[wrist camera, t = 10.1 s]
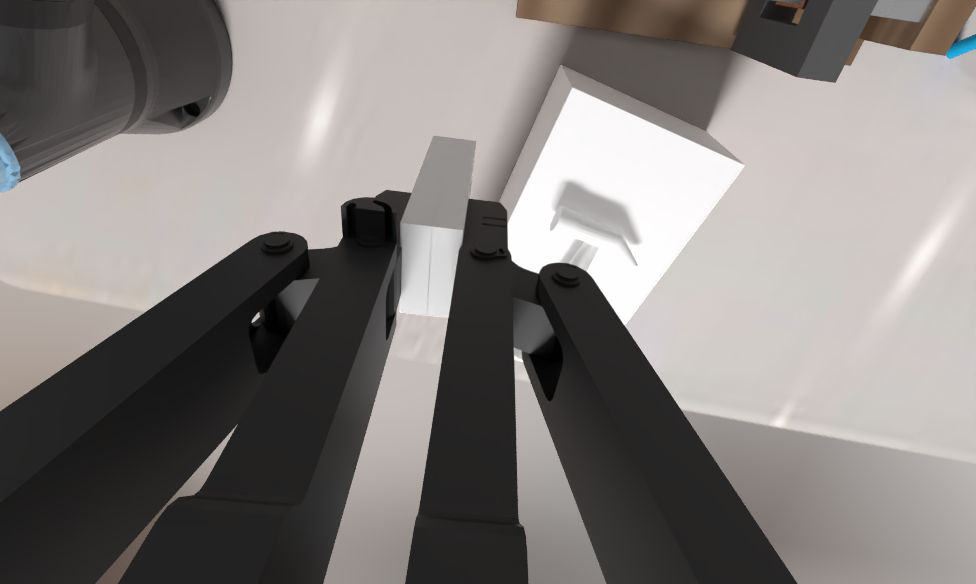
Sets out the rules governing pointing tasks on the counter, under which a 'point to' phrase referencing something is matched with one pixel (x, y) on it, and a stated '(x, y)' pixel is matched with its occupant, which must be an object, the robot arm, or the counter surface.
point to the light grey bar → (884, 8)
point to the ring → (803, 35)
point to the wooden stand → (739, 21)
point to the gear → (962, 47)
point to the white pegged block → (611, 188)
